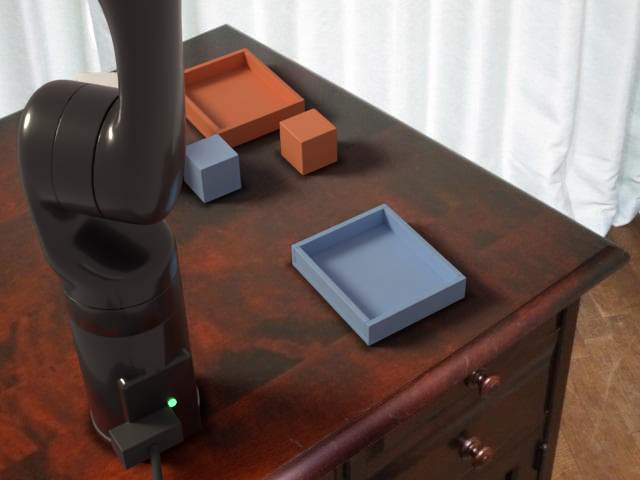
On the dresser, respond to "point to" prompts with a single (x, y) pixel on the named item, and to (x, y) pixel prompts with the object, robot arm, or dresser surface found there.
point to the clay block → (308, 141)
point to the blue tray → (378, 273)
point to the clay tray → (238, 98)
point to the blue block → (212, 168)
